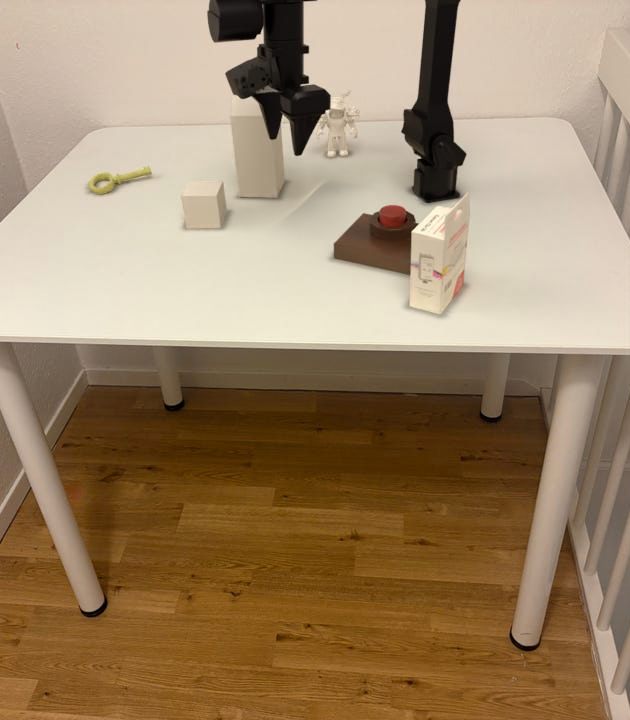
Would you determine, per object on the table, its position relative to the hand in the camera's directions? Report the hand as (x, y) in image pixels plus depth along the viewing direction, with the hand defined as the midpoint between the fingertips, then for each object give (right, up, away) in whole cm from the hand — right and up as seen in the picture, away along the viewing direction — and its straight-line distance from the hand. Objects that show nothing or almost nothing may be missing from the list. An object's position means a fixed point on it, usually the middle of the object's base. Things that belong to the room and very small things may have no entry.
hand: (285, 147), depth 111 cm
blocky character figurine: (+10, +8, +33) cm, 36 cm away
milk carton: (-4, -1, +22) cm, 23 cm away
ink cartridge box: (+21, -24, -9) cm, 33 cm away
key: (-32, +1, +29) cm, 43 cm away
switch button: (+17, -11, +1) cm, 20 cm away
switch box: (+16, -16, +2) cm, 22 cm away
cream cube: (-14, -9, +14) cm, 21 cm away
